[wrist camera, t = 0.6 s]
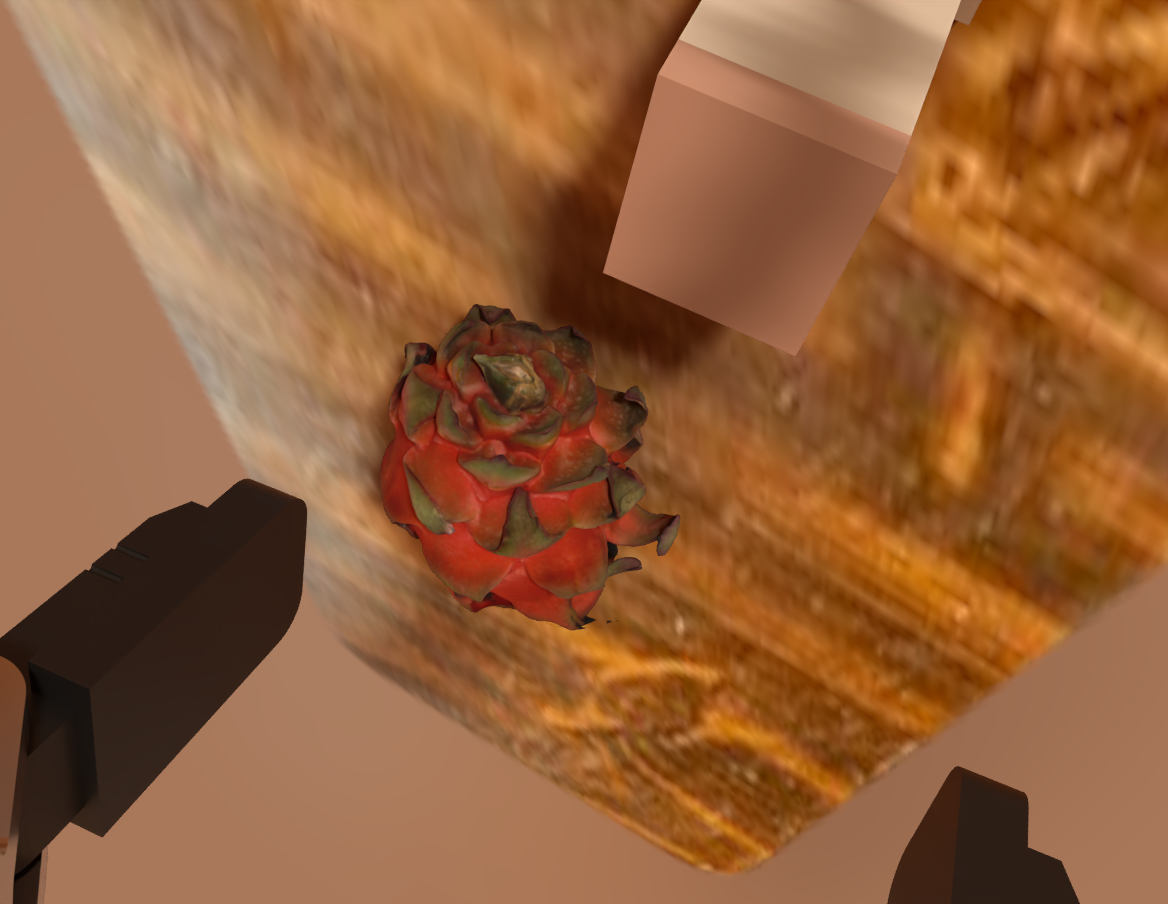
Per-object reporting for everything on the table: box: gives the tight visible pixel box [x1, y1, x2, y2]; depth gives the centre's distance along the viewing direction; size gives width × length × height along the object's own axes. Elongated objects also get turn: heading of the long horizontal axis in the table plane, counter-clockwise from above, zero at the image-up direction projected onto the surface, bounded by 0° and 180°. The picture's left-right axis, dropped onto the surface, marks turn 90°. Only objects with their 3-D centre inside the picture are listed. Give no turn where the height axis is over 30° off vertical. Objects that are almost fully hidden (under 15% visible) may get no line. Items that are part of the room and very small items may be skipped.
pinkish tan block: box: [603, 0, 961, 356], centre depth 26 cm, size 5×8×9 cm, turn 163°
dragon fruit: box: [379, 304, 680, 630], centre depth 35 cm, size 8×8×12 cm
